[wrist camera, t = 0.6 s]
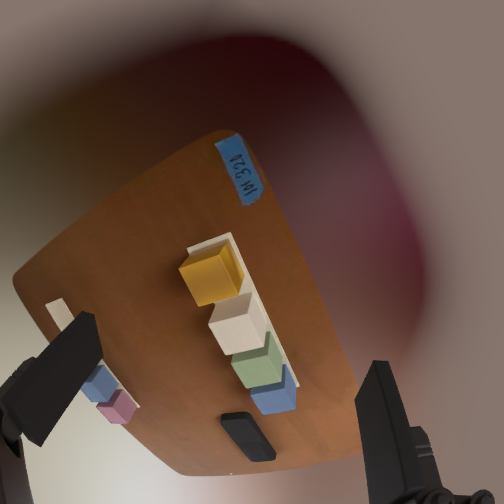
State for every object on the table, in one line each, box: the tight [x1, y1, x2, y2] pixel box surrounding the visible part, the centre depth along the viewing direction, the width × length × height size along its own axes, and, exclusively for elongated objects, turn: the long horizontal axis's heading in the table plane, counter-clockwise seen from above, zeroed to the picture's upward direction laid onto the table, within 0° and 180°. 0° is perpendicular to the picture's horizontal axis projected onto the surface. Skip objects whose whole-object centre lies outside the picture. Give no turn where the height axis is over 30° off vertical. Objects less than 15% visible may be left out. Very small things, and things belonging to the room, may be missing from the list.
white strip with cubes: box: [187, 232, 300, 415], centre depth 32 cm, size 23×5×4 cm, turn 22°
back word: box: [45, 298, 140, 424], centre depth 39 cm, size 23×5×4 cm, turn 22°
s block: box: [179, 239, 245, 307], centre depth 30 cm, size 4×4×4 cm
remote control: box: [221, 412, 276, 462], centre depth 43 cm, size 5×2×15 cm
